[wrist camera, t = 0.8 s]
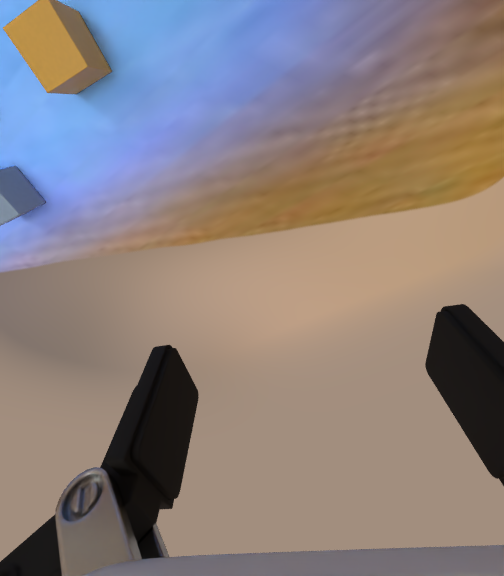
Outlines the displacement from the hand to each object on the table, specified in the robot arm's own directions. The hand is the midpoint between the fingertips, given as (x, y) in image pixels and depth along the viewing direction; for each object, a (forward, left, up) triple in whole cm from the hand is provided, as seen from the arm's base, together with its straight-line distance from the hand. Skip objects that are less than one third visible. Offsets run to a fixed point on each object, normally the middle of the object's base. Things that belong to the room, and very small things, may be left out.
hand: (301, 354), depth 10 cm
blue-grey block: (-11, -29, -27) cm, 41 cm away
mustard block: (-18, -13, -27) cm, 35 cm away
